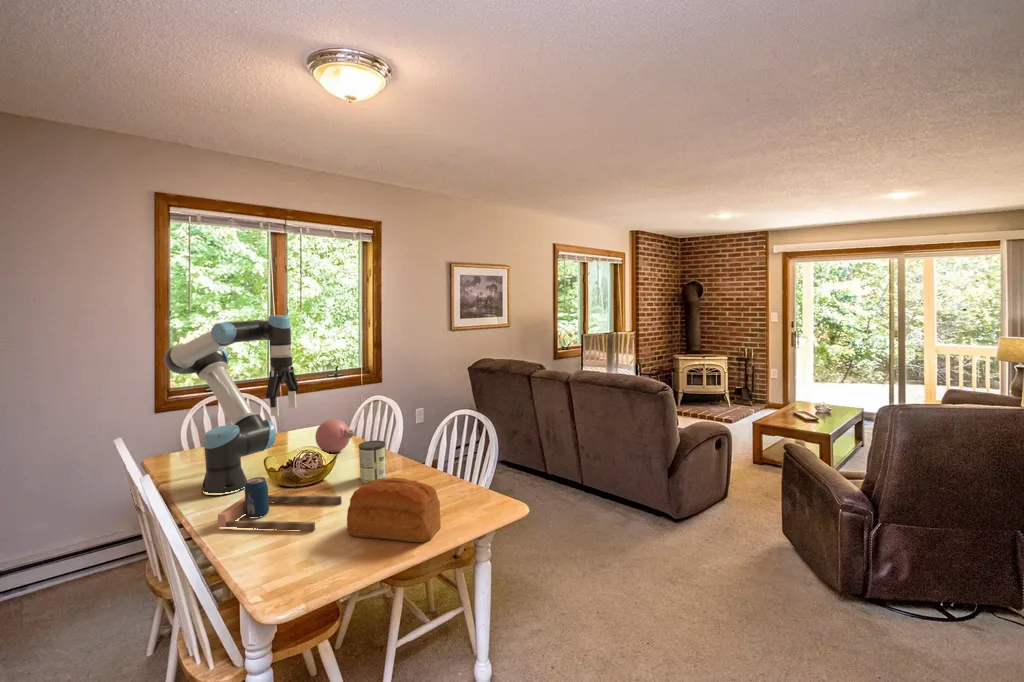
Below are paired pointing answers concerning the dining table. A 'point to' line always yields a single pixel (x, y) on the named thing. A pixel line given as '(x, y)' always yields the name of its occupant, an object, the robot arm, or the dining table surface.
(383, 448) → the coffee can
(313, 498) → the walnut lane
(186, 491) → the dining table surface
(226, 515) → the end stop
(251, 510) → the soda can
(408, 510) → the bread
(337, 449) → the pink party balloon
